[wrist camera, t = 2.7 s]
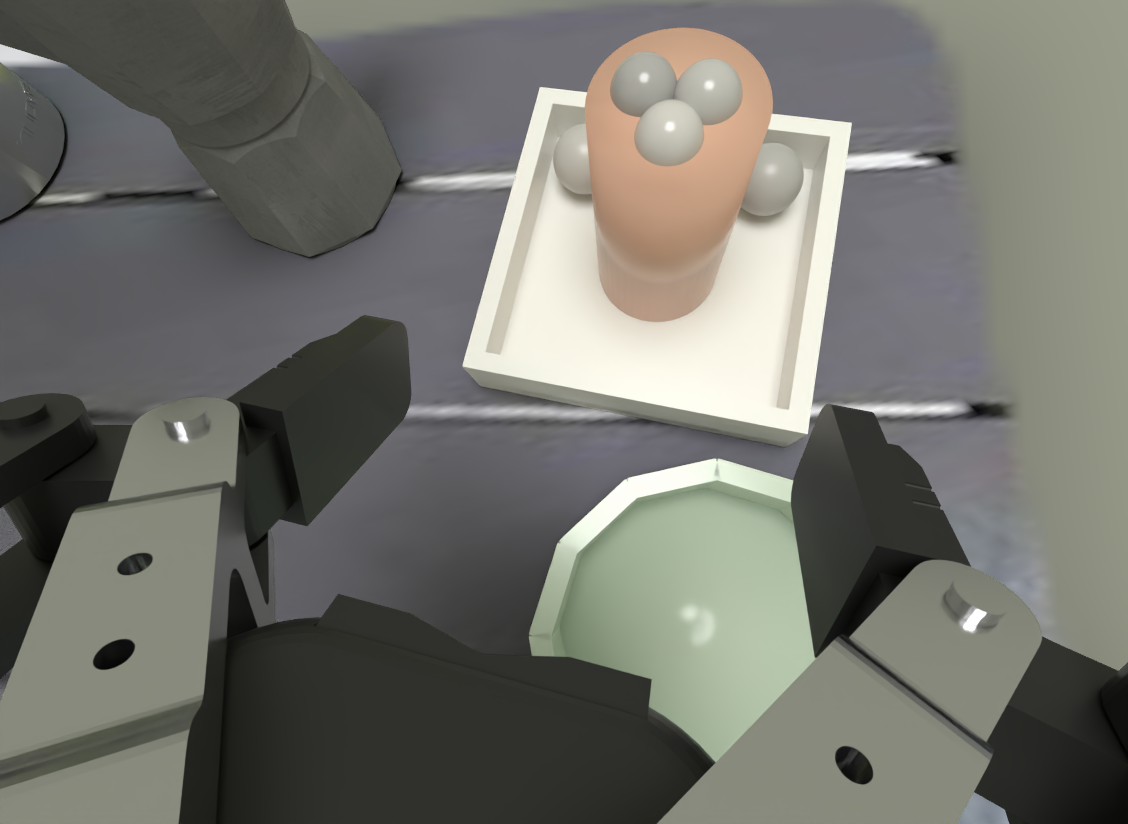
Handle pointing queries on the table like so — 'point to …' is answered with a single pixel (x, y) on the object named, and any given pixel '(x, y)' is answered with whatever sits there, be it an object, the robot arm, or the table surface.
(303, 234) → the coffeepot
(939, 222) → the table surface
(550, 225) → the parts tray
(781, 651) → the sage bowl
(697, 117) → the pebble pot
